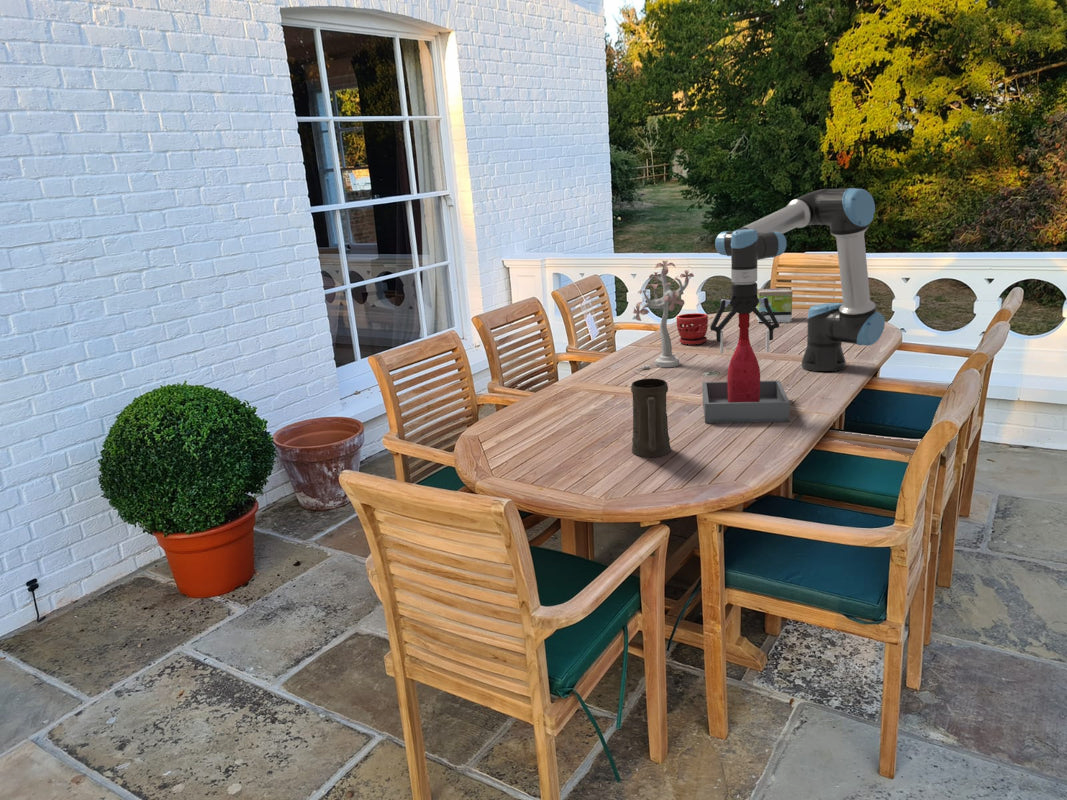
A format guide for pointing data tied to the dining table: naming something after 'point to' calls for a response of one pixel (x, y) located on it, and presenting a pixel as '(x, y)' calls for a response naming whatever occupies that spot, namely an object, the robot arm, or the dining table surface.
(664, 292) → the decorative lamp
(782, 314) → the tea box
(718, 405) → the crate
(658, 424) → the beer stein
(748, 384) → the wine bottle
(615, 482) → the dining table surface
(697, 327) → the plant pot
